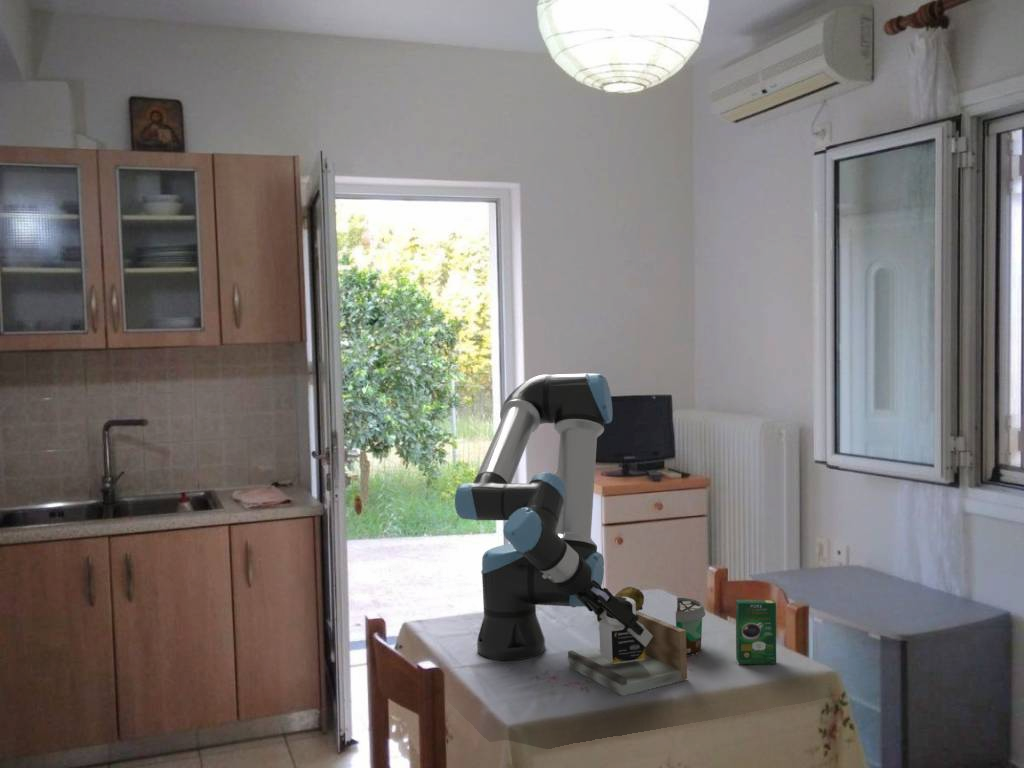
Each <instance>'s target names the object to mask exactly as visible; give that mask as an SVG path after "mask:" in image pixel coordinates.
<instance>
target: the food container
mask: <svg viewBox="0 0 1024 768" xmlns="http://www.w3.org/2000/svg"><path fill="white" fill-rule="evenodd" d="M676 603H677V606H676V611H675V626H676V627H679V628H681V629H684V630H686V653H687V655H691V656H693V655H692V654H695V655H697V654H696V653H698V652H699V653H701V651H702V632H703V630H702V629H703V618H704V617H705V616H706V611H705V607H704V606H703V603H702V602H701V601H700V600H697V599H694V598H688V597H679V596H678V597H676ZM699 653H698V654H699Z"/></svg>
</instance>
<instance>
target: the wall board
mask: <svg viewBox="0 0 1024 768" xmlns="http://www.w3.org/2000/svg"><path fill="white" fill-rule="evenodd" d="M636 616H637V617H638V618H639V619H638V620H637V621H638V622H639V623H641V624H642V625H643V626H644V628H645V629H647V630H648V631H649V632H650V633H651V634H652V635H653V637H652V638H651V640H650V641H649V643H648V644H647V646H646V647H645V659H644V660H640V661H633V662H625V663H618V664H612V663H611V662H610V661H609V660H608V659H607V658H605V657H604V656H603V655H602V654H601V653H600V649H599V650H598V649H597V650H594V651H588V652H584V653H579V652H576V651H574V650H568V651H567V659H568V661H567V663H568V664H567V665H568V667H569V668H571V669H573V670H575V671H577V672H578V673H580V674H582V675H584V676H586V677H587V678H589V679H591V680H593V681H595V682H596V681H597V682H596V683H598V684H601V685H602V686H604V687H606V688H607V689H609V690H611V691H612V692H615V693H617V694H619V695H620V696H623V697H624V696H629V695H632V694H637V693H640V692H644V690H645V691H649V690H653V689H656V687H657V688H660V686H661V687H664V685H665V686H668V684H669V685H672V683H673V684H676V683H675V682H677V683H680V682H679V681H681V682H684V681H683V680H685V681H687V680H688V659H687V657H688V656H687V653H686V630H684V629H681V628H679V627H676V625H673V624H671V623H669V622H666V621H664V620H661V619H659V618H655V617H653V616H651V615H649V614H645V613H644V612H642V611H640V610H638V611H636ZM686 679H687V680H686ZM652 688H653V689H652ZM648 689H649V690H648Z"/></svg>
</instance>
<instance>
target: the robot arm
mask: <svg viewBox="0 0 1024 768" xmlns="http://www.w3.org/2000/svg"><path fill="white" fill-rule="evenodd" d="M612 401H613V400H612V395H611V390H610V386H609V383H608V381H607V379H606V377H605V376H604V375H603V374H601V373H587V372H585V373H565V374H564V373H562V374H558V373H557V374H541V375H537V376H533V377H532V378H531V377H530V379H527V380H526V381H523V383H521V384H520V385H519V386H517V387H516V388H515V389H514V390H513V391H512V392H511V393H510V394H509V395H508V396H507V398H506V399H505V401H504V402H503V404H502V407H501V409H500V413H499V416H500V417H499V418H500V422H499V423H498V427H497V429H496V431H495V433H494V435H493V438H492V440H491V442H490V444H489V447H488V450H487V451H486V453H485V456H484V458H483V460H482V463H481V465H480V467H479V470H478V472H477V474H476V477H475V478H474V480H473V482H471V481H469V482H463V483H461V484H459V485H458V486H457V488H456V491H455V495H454V508H455V511H456V514H457V516H458V517H459V518H461V519H462V520H471V521H477V522H478V521H506V522H505V523H504V525H503V529H502V530H503V531H502V532H503V536H504V538H505V539H506V540H507V541H508V542H509V543H508V544H502V545H499V546H496V547H492V548H490V549H488V550H487V551H485V552H484V554H482V559H481V560H482V561H481V562H482V563H481V567H482V568H481V571H480V572H481V578H482V579H481V581H482V598H483V600H482V601H483V602H482V603H483V619H482V622H481V626H480V630H479V633H478V637H477V641H476V642H477V643H476V646H477V653H478V652H479V653H480V654H479V653H478V654H479V655H481V654H482V655H484V656H483V657H485V656H486V657H485V658H489V659H491V660H501V661H502V660H503V661H504V660H505V661H508V660H509V661H511V660H512V661H513V660H514V661H515V660H522V659H523V660H524V659H528V658H531V657H534V656H538V655H540V654H541V653H543V652H544V651H545V649H546V640H545V638H546V637H545V636H544V633H543V630H542V627H541V624H540V622H539V619H538V616H537V609H536V607H537V605H538V606H557V607H560V606H561V607H571V608H578V607H579V608H580V607H585V608H587V610H588V611H589V612H594V614H595V615H596V616H597V615H599V614H600V618H601V619H602V620H605V619H606V612H608V613H609V614H610V615H611V616H613V617H614V618H615V619H616V620H618V621H619V622H620V623H622V624H623V625H624V626H625V627H624V629H623V630H624V631H628V632H629V633H630V634H631V635H632V636H634V637H635V638H636V639H637V640H638V641H639V642H640V643H641V644H642V645H643V646H645V647H646V646H647V644H648V643H649V641H650V640H651V638H652V637H653V635H652V634H651V633H650V632H649V631H648V630H647V629H645V628H644V627H643V626H642V625H641V624H640V623H639V622H638V621H637V620H638V619H639V618H638V617H637V616H636V615H635V614H634V613H632V612H631V611H630V610H629V609H628V608H627V607H626V606H624V605H623V604H622V603H621V602H620V601H619V600H618V599H616V598H615V597H614V596H615V595H613V594H612V593H611V592H610V591H609V589H608V588H607V587H602V586H603V581H604V575H605V568H604V567H605V558H604V556H603V554H602V553H601V552H599V551H598V546H597V544H596V543H595V542H594V540H593V539H592V525H593V523H592V521H593V511H594V510H593V508H594V491H595V475H596V473H595V472H596V459H597V444H598V443H597V442H598V438H599V437H600V436H601V435H602V434H603V433H604V432H605V424H611V422H612V421H613V402H612ZM541 424H553V428H554V430H555V431H556V432H557V433H558V434H559V444H558V446H559V447H558V455H557V456H558V458H557V469H556V470H557V471H556V474H555V473H551V472H546V471H542V472H540V473H537V474H534V476H532V478H531V480H530V481H529V483H516V482H515V483H512V482H513V479H514V477H515V475H516V472H517V470H518V467H519V465H520V462H521V459H522V458H523V455H524V453H525V449H526V447H527V444H528V442H529V440H530V437H531V435H532V433H533V432H535V431H536V430H537V429H538V428H539V426H540V425H541ZM482 655H481V656H482Z"/></svg>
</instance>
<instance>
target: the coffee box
mask: <svg viewBox="0 0 1024 768" xmlns="http://www.w3.org/2000/svg"><path fill="white" fill-rule="evenodd" d="M735 606H736V607H735V610H736V611H735V645H736V646H735V656H736V662H737V661H738V663H739V664H738V663H737V664H738V665H746V664H749V665H777V602H775V601H774V600H773V599H736V600H735Z"/></svg>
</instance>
